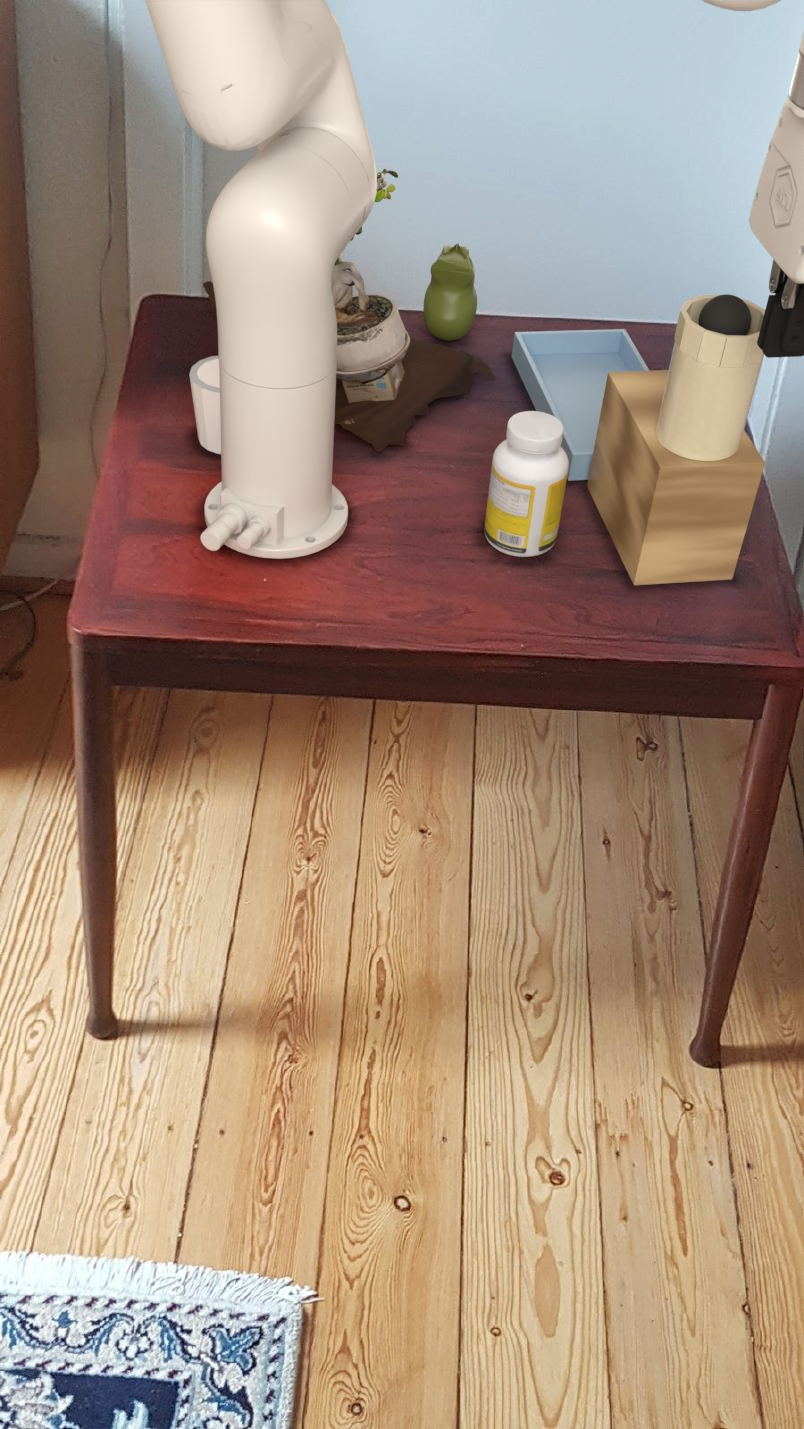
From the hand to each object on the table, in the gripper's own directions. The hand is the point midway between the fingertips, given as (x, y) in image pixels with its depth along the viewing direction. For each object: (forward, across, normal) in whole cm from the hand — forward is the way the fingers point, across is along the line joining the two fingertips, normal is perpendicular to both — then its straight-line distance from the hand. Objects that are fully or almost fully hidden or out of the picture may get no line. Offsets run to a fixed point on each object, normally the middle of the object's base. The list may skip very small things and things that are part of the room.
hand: (780, 350), depth 103 cm
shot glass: (+25, -31, -37) cm, 55 cm away
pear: (+25, -49, -12) cm, 57 cm away
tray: (+25, -33, 0) cm, 42 cm away
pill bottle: (+25, -13, -13) cm, 31 cm away
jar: (+13, -10, 0) cm, 16 cm away
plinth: (+25, -13, 0) cm, 28 cm away
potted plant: (+25, -40, -24) cm, 53 cm away
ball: (+3, -10, 0) cm, 10 cm away
